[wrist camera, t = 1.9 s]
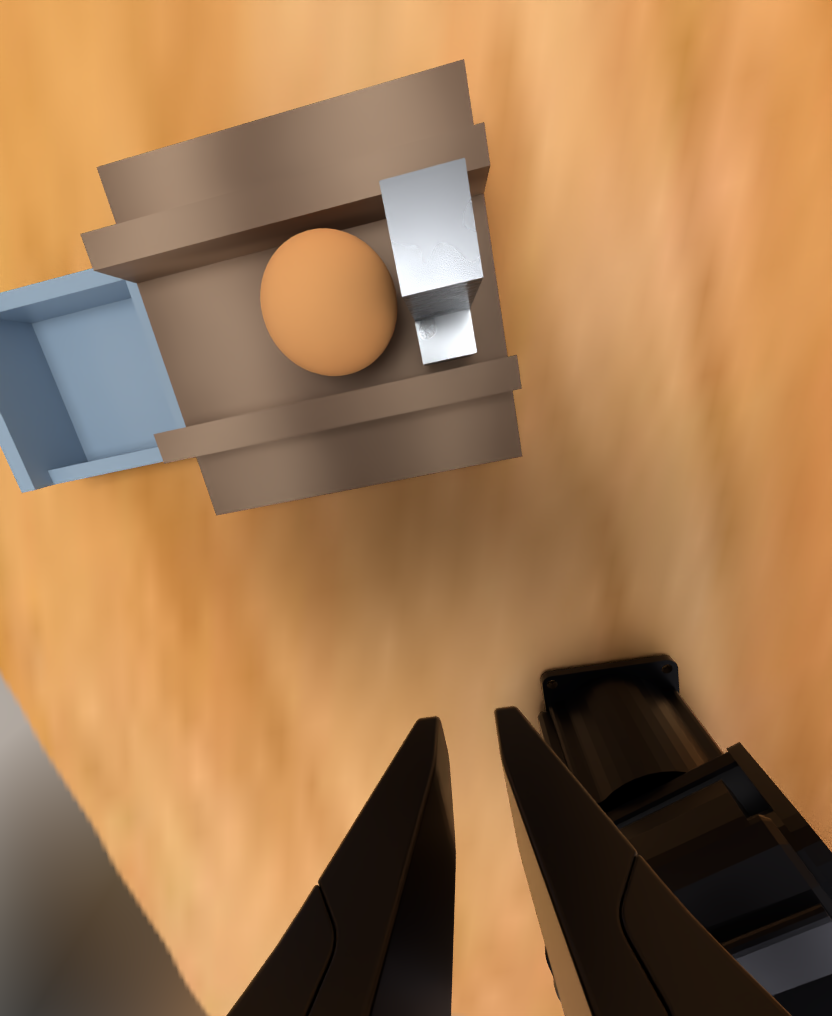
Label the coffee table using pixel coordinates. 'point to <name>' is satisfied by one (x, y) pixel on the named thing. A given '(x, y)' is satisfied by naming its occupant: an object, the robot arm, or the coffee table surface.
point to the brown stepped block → (237, 308)
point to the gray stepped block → (436, 255)
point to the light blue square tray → (80, 380)
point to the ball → (328, 302)
